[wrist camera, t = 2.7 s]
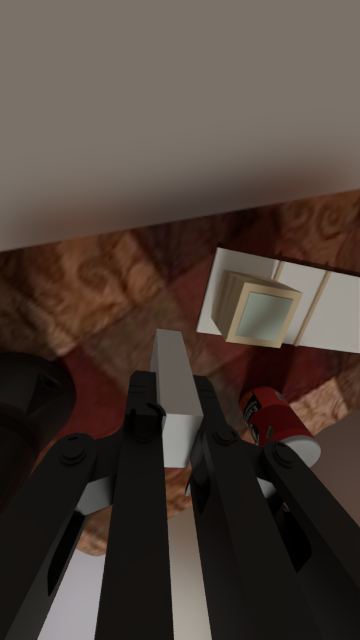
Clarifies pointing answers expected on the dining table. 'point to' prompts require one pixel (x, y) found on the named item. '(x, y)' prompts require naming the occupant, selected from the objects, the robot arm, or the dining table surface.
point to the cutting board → (313, 309)
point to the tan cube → (254, 309)
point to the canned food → (277, 422)
